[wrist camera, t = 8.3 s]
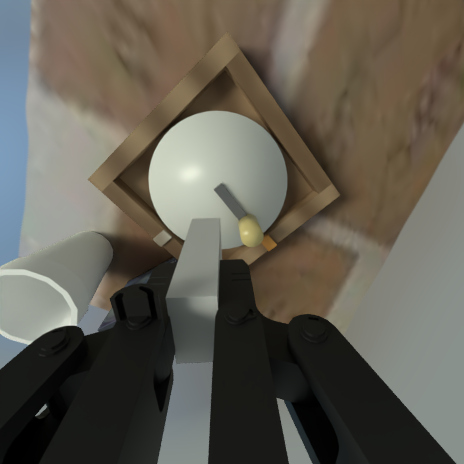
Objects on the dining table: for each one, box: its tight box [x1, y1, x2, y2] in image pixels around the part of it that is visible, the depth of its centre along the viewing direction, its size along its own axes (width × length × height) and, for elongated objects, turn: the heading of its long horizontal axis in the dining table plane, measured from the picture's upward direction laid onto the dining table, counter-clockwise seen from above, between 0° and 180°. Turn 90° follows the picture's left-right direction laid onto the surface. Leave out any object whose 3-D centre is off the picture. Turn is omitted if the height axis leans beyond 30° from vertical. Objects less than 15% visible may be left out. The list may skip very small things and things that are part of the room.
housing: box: [88, 32, 340, 265], centre depth 31 cm, size 22×22×4 cm
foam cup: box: [0, 231, 113, 345], centre depth 30 cm, size 10×9×13 cm
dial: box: [149, 111, 287, 249], centre depth 29 cm, size 17×17×6 cm
